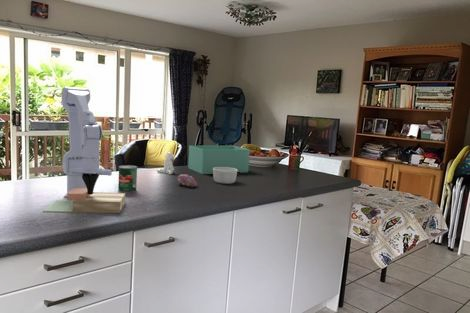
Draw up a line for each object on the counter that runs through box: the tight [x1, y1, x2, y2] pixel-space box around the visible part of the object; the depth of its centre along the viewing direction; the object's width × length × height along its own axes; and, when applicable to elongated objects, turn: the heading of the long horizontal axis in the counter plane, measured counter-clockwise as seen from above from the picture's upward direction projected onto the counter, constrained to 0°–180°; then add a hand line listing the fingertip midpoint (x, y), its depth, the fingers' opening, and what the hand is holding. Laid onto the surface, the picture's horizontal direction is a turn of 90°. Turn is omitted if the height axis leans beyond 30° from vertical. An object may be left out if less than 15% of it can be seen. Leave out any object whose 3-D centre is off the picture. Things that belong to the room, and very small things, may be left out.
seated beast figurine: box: [156, 151, 176, 175], centre depth 223 cm, size 10×9×12 cm
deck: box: [72, 191, 126, 214], centre depth 144 cm, size 14×16×4 cm
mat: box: [42, 199, 74, 213], centre depth 142 cm, size 15×10×1 cm, turn 8°
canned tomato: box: [117, 164, 138, 194], centre depth 172 cm, size 8×8×11 cm
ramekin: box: [213, 167, 238, 184], centre depth 207 cm, size 13×13×7 cm
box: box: [187, 145, 250, 175], centre depth 242 cm, size 21×32×14 cm, turn 120°
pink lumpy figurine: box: [176, 174, 198, 187], centre depth 191 cm, size 10×5×7 cm, turn 59°
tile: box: [66, 188, 90, 200], centre depth 142 cm, size 9×6×2 cm, turn 8°
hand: (90, 193), depth 143 cm, fingers closed
